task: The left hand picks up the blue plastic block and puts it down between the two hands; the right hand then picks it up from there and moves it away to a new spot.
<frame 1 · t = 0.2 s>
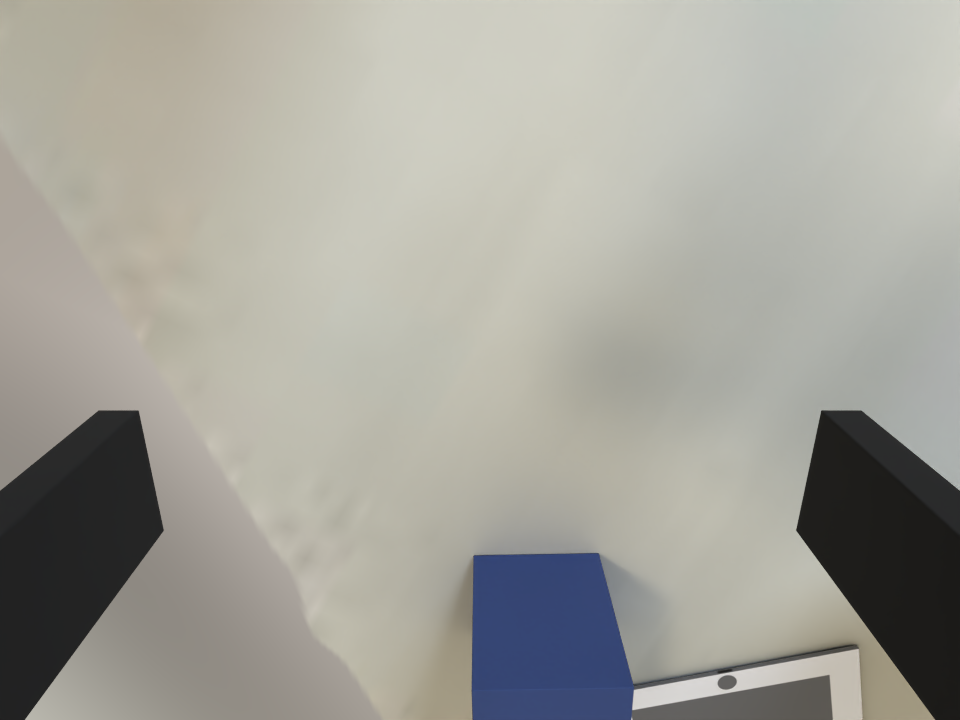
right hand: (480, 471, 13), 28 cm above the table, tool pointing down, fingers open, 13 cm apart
block: (535, 596, 49), on the table
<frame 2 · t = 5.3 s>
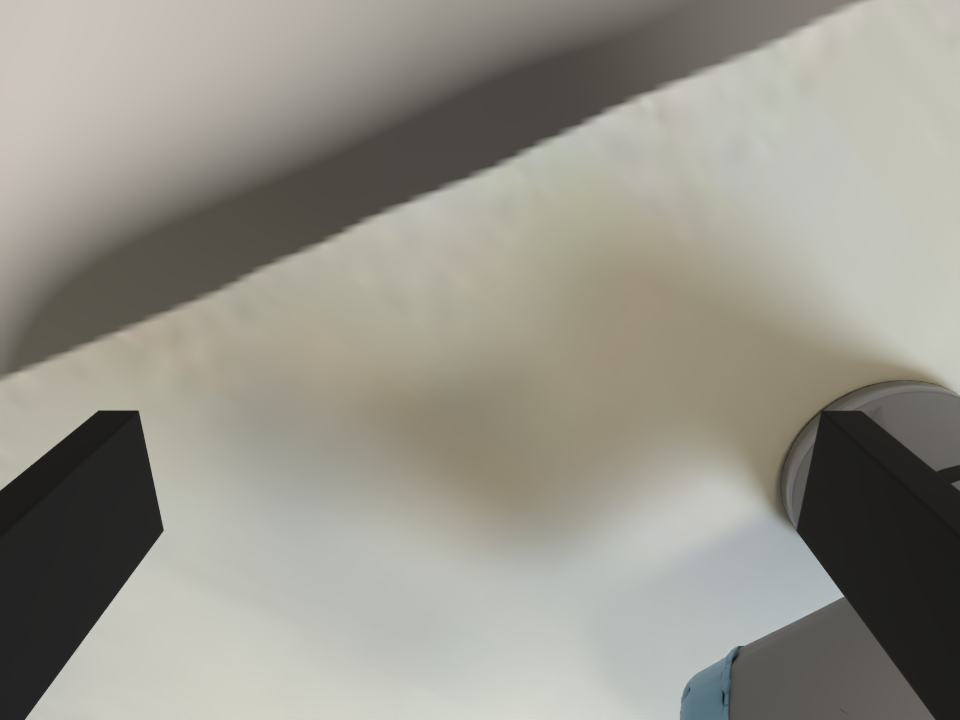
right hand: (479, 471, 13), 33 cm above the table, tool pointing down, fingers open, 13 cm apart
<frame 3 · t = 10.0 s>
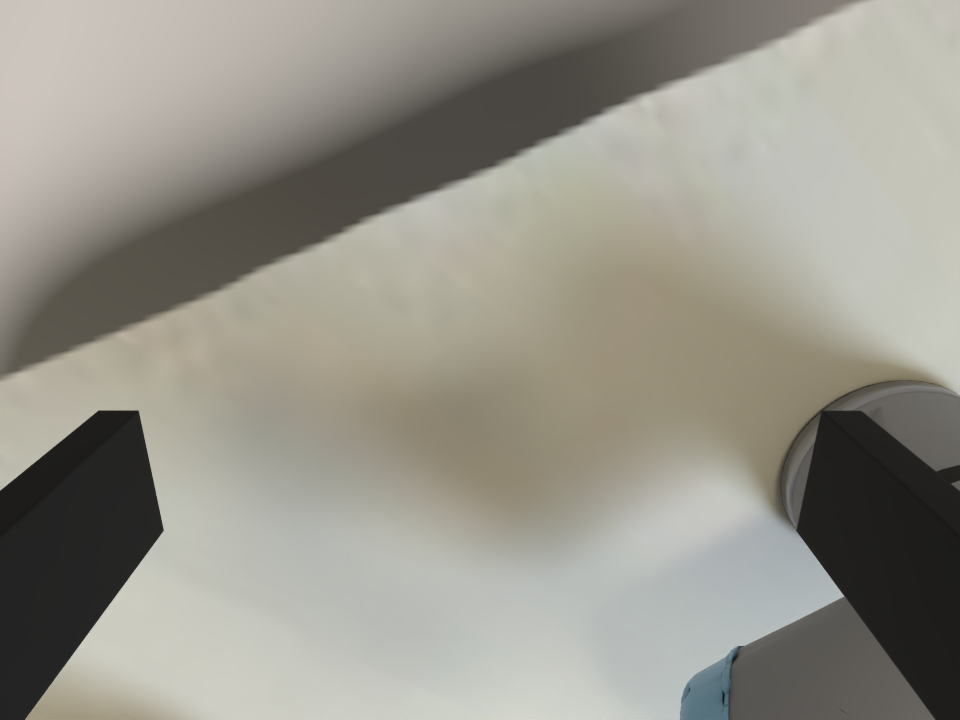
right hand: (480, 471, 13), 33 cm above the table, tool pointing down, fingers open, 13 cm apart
when the left hand's fingers open (4 cm above the table, at t = 14.7 s): block drops 1 cm, on the table.
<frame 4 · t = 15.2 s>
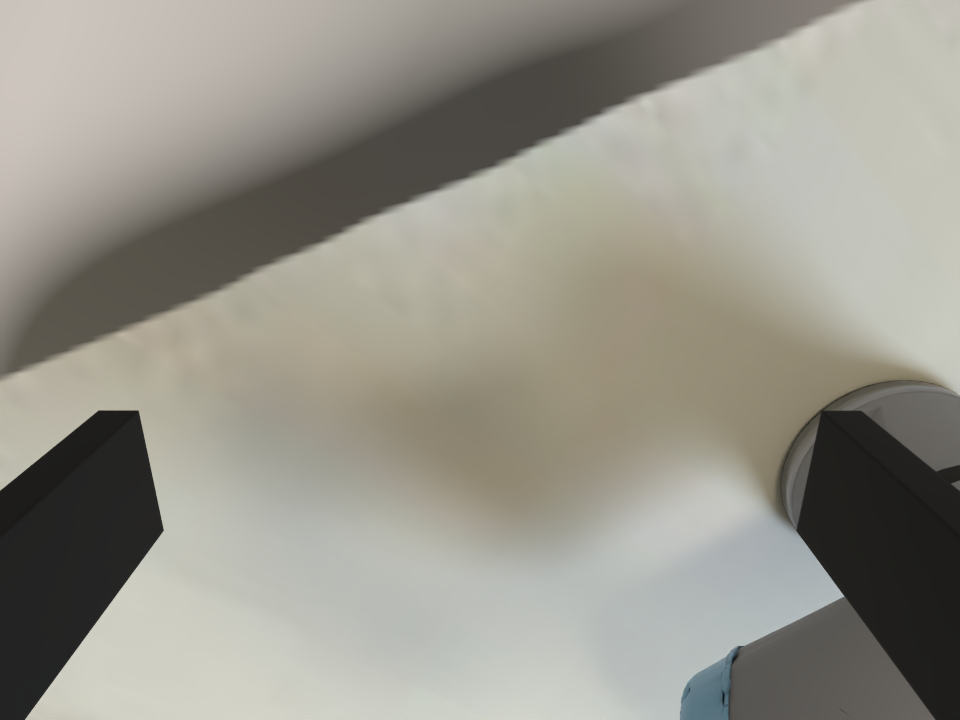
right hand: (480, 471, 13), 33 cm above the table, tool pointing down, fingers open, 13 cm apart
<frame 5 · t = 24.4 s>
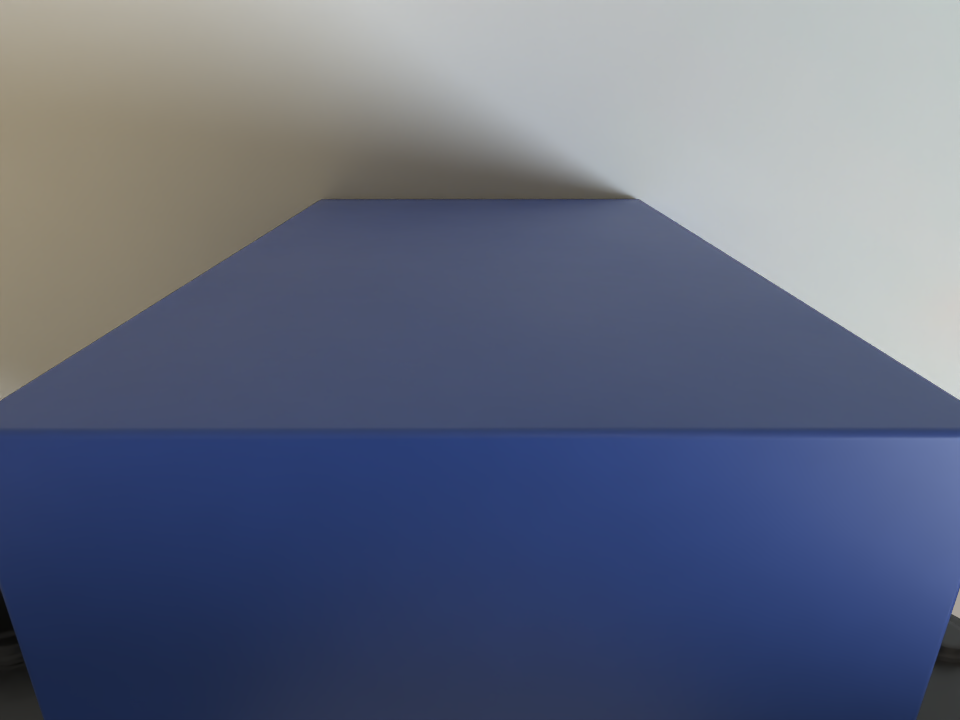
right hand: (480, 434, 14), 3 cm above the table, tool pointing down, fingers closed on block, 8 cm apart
block: (480, 374, 17), on the table, touching right hand
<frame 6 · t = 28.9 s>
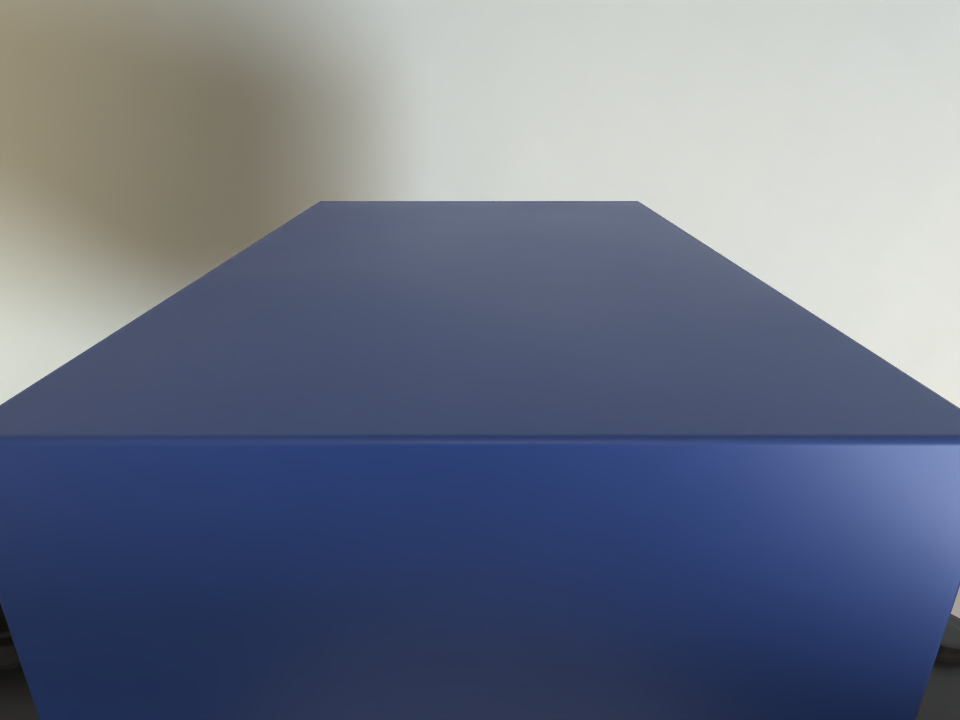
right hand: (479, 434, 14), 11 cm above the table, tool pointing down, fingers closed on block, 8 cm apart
block: (479, 376, 17), point 8 cm above the table, touching right hand
when the right hand's fingers open (4 cm above the table, at t = 33.4 s): block drops 1 cm, on the table.
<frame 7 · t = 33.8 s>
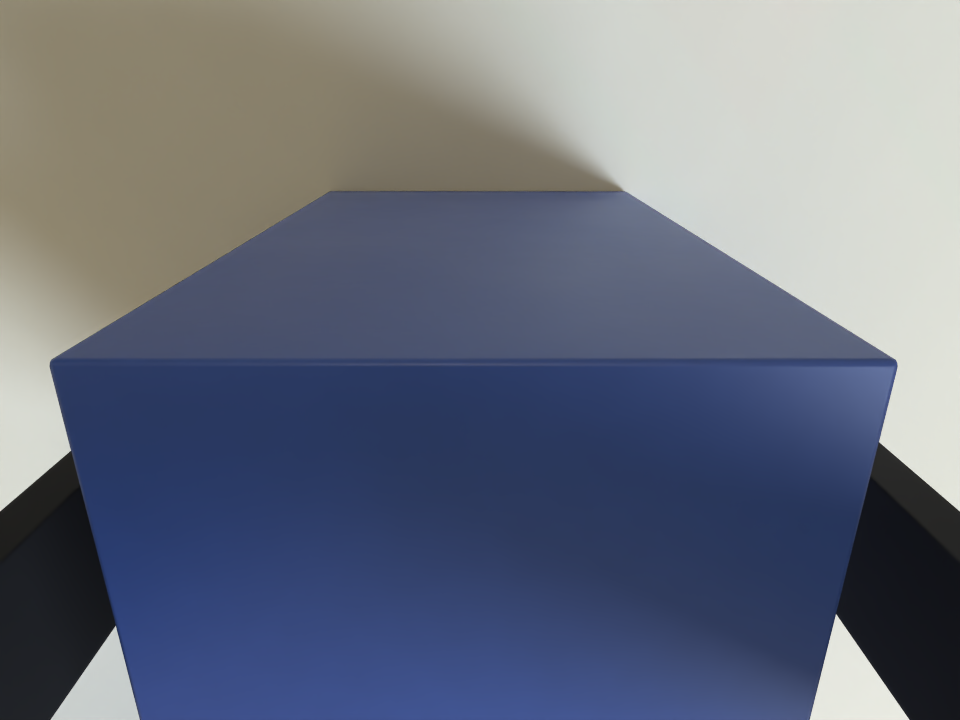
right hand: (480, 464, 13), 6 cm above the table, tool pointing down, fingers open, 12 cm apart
block: (477, 356, 18), on the table
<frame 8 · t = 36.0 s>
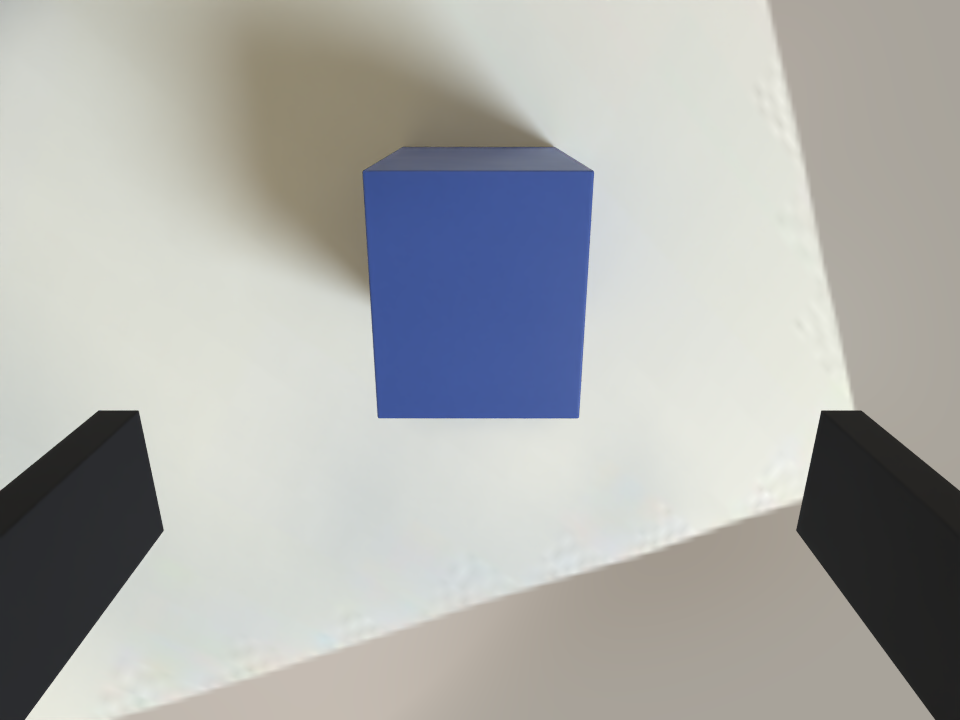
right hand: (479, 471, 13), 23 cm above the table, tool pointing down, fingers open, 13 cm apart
block: (478, 238, 34), on the table
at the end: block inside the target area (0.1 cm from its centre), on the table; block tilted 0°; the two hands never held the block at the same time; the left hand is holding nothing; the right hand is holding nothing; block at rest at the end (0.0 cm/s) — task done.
